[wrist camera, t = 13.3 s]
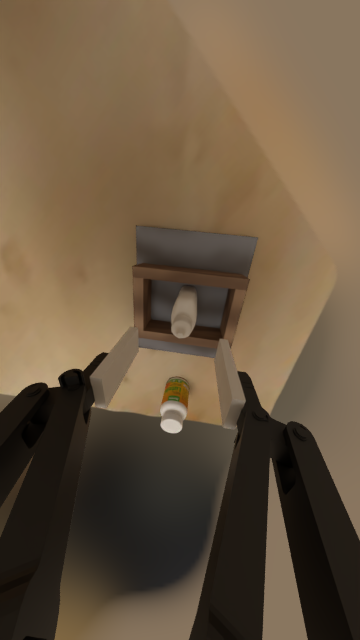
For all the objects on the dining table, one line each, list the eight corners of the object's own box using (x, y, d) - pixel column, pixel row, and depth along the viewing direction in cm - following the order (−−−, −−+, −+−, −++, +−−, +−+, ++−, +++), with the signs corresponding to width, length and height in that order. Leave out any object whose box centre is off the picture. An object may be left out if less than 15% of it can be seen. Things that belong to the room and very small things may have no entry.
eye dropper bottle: (168, 306, 29) (150, 342, 19) (186, 280, 27) (177, 304, 16) (188, 319, 30) (181, 361, 19) (207, 295, 28) (212, 328, 17)
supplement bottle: (183, 374, 37) (178, 414, 28) (192, 390, 39) (190, 433, 30) (162, 379, 38) (151, 419, 30) (172, 395, 40) (164, 437, 31)
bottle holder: (138, 226, 25) (123, 221, 20) (255, 237, 24) (270, 236, 19) (139, 344, 35) (130, 361, 30) (225, 356, 34) (229, 375, 29)
